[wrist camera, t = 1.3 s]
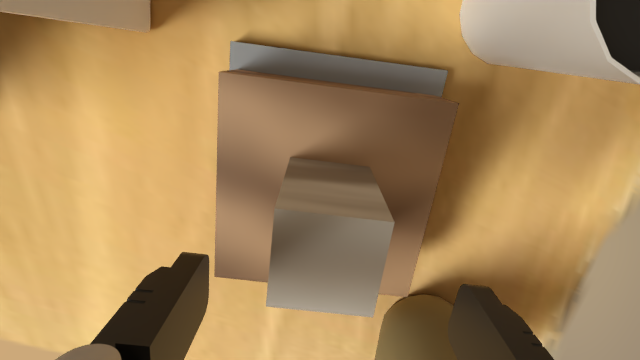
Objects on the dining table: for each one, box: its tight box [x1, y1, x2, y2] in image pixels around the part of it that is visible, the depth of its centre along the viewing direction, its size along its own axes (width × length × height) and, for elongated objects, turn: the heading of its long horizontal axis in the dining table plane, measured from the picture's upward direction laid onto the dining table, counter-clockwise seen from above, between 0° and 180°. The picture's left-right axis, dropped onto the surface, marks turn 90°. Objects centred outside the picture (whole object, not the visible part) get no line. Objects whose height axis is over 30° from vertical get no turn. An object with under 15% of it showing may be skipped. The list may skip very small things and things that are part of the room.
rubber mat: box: [230, 41, 448, 97], centre depth 21 cm, size 14×12×1 cm
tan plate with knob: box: [215, 69, 459, 317], centre depth 16 cm, size 11×11×10 cm
